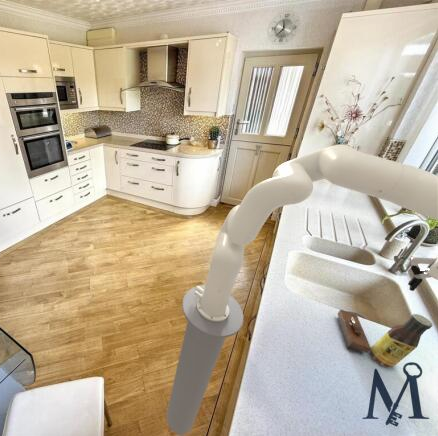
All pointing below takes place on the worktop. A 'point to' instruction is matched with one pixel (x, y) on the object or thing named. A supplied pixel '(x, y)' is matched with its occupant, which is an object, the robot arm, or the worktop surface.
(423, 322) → the sauce bottle
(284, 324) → the worktop surface
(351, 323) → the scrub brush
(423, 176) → the robot arm
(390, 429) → the worktop surface
